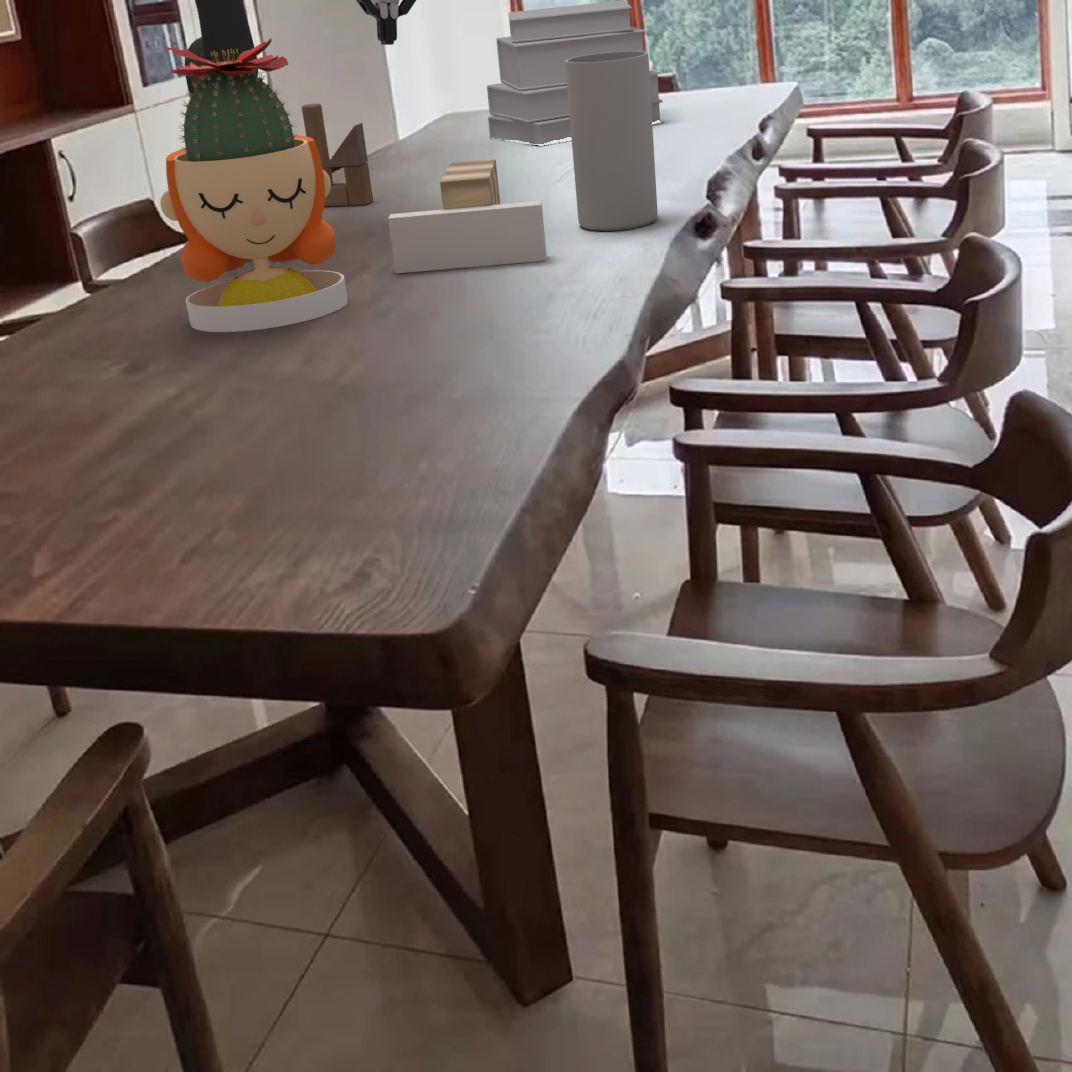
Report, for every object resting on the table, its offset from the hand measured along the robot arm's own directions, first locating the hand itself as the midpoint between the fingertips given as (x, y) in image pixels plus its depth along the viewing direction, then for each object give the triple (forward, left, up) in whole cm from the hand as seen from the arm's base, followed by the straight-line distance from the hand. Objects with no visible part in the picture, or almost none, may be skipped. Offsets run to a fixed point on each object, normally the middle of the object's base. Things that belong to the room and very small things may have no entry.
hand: (387, 44), depth 221 cm
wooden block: (-1, +30, -29) cm, 42 cm away
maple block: (0, -25, -29) cm, 38 cm away
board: (-5, -33, -29) cm, 44 cm away
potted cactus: (-36, -33, -29) cm, 57 cm away
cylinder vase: (+24, -27, -29) cm, 46 cm away
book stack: (+68, +64, -29) cm, 97 cm away
